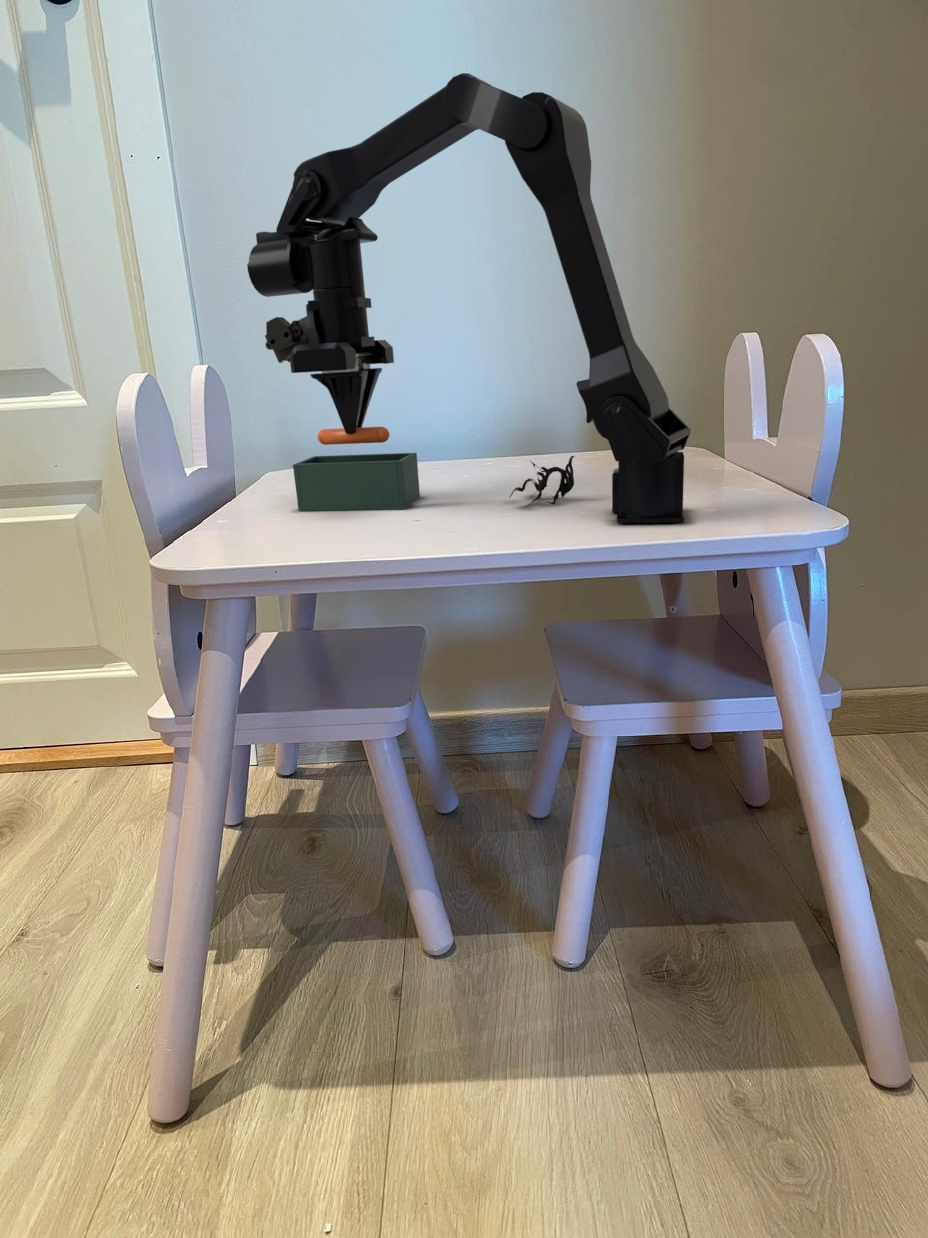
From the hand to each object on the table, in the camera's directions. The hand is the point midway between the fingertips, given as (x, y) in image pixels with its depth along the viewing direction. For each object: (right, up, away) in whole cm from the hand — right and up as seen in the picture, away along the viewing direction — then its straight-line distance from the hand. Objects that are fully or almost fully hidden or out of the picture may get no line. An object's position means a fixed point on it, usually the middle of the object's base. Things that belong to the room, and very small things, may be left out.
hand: (353, 432), depth 97 cm
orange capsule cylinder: (0, -1, +1) cm, 1 cm away
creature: (+22, -9, -2) cm, 24 cm away
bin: (0, -8, +3) cm, 9 cm away
